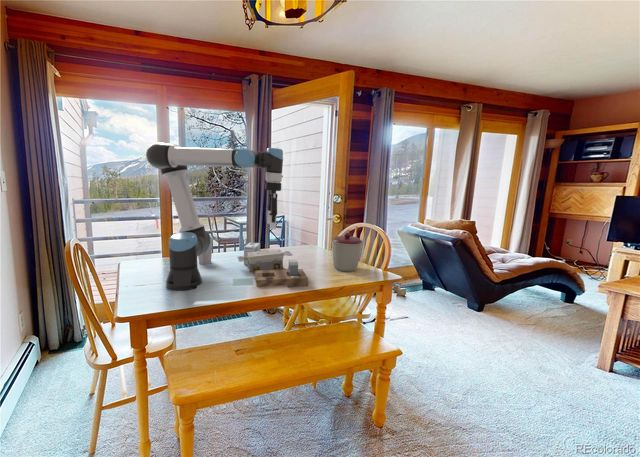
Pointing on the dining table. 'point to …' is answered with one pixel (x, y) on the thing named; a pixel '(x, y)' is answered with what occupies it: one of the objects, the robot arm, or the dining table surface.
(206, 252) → the coffee cup
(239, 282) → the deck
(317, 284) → the dining table surface
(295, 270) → the plug
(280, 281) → the socket board
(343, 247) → the canister
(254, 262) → the electrical outlet
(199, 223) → the robot arm
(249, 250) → the light bulb box
